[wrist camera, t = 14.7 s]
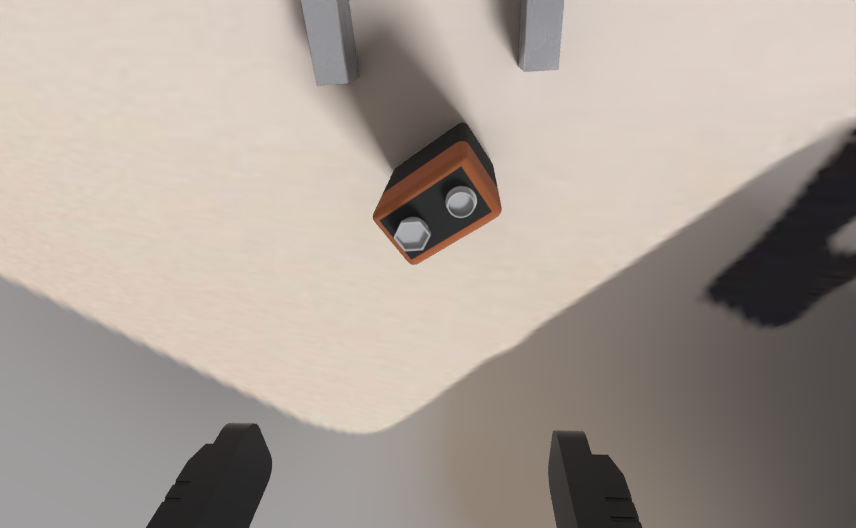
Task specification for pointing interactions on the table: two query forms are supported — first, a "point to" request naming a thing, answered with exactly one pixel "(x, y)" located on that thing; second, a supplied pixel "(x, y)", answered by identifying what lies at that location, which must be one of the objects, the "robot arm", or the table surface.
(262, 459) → the robot arm
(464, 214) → the battery
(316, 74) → the housing
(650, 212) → the table surface
